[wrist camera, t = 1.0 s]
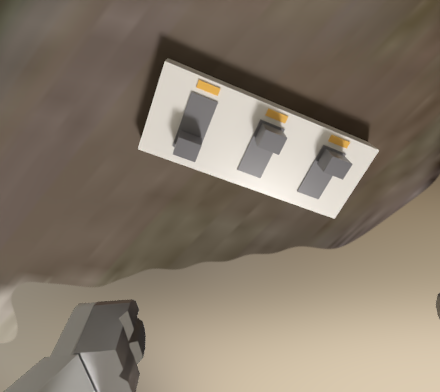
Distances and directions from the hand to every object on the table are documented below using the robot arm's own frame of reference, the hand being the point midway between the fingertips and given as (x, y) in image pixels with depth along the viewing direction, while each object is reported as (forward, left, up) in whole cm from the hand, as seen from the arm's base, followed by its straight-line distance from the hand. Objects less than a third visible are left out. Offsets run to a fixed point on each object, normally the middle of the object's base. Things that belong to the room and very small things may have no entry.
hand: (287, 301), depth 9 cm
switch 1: (-2, -7, -29) cm, 30 cm away
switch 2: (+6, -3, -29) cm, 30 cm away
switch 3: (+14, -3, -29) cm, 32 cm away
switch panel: (+6, -5, -33) cm, 33 cm away
